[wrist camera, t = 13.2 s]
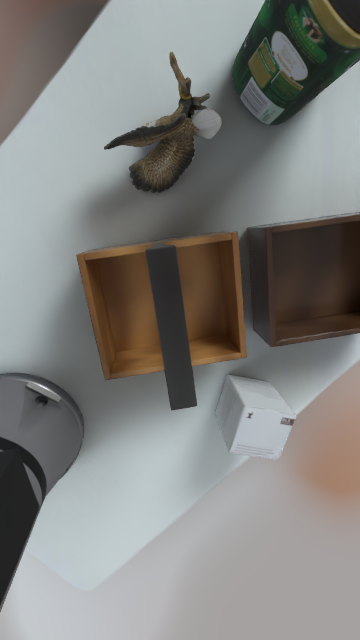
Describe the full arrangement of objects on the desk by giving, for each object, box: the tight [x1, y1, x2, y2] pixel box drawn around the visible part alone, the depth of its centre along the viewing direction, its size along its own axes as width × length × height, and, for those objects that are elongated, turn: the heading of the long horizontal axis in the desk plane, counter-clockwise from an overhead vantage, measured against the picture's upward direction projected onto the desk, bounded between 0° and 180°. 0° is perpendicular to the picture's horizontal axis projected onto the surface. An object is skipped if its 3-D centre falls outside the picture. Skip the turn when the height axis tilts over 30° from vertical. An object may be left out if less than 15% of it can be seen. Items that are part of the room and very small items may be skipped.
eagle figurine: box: [104, 52, 222, 193], centre depth 27 cm, size 8×7×9 cm
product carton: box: [215, 375, 296, 460], centre depth 35 cm, size 6×6×7 cm
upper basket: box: [76, 231, 247, 410], centre depth 28 cm, size 14×12×14 cm
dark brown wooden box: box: [247, 212, 360, 347], centre depth 32 cm, size 14×12×6 cm
